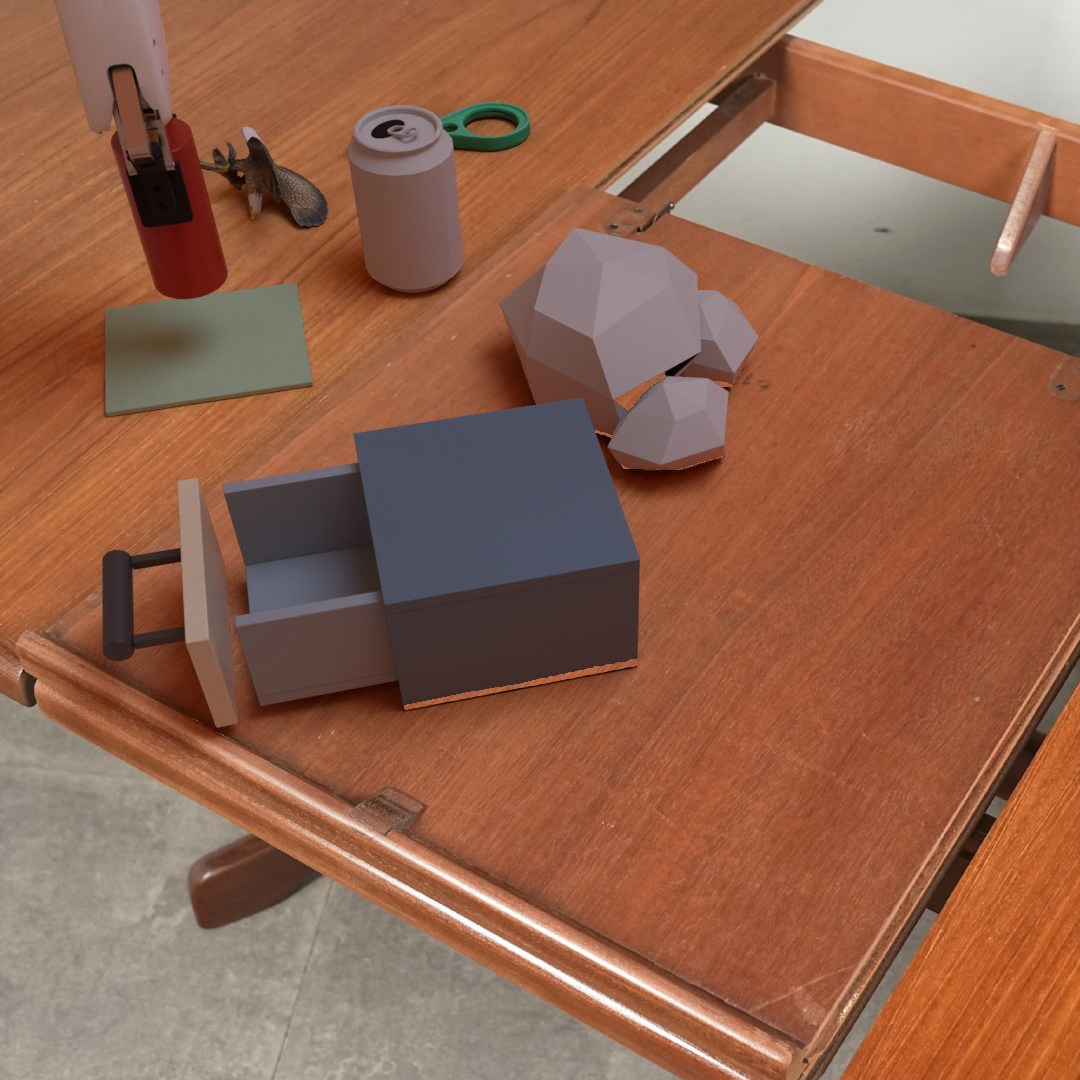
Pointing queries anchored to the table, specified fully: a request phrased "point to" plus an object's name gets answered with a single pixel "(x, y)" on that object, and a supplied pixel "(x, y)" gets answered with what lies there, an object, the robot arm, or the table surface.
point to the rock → (631, 346)
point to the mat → (204, 349)
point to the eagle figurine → (269, 181)
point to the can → (406, 198)
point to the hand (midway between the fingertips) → (166, 195)
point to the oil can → (180, 226)
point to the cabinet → (499, 549)
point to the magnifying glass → (468, 140)
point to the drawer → (269, 591)
